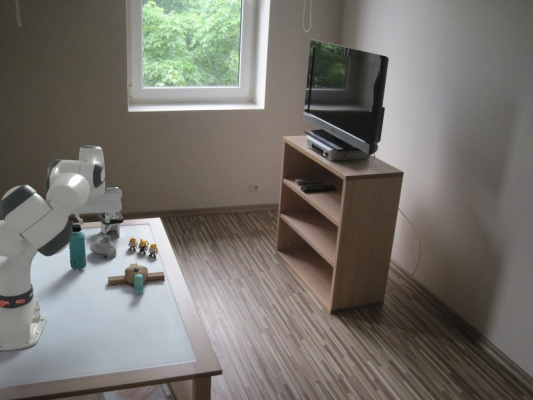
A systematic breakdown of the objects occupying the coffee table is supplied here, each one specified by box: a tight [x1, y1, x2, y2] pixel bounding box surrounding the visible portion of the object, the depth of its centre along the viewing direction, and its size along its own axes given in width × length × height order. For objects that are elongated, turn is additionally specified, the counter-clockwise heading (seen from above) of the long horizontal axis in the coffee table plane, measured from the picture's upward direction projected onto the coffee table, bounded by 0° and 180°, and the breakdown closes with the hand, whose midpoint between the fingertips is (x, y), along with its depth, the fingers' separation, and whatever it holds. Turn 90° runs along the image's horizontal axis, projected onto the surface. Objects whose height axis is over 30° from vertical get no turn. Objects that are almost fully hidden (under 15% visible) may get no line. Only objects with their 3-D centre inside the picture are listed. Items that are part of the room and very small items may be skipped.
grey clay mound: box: [89, 234, 117, 258], centre depth 251 cm, size 12×12×11 cm
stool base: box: [107, 262, 165, 288], centre depth 234 cm, size 16×22×6 cm
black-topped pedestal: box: [95, 211, 125, 238], centre depth 271 cm, size 28×26×13 cm
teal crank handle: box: [133, 274, 144, 295], centre depth 224 cm, size 6×3×7 cm, turn 18°
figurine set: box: [127, 237, 159, 259], centre depth 256 cm, size 3×16×7 cm, turn 63°
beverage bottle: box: [68, 223, 87, 271], centre depth 235 cm, size 6×7×20 cm
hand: (94, 223), depth 214 cm, fingers open, 8 cm apart
